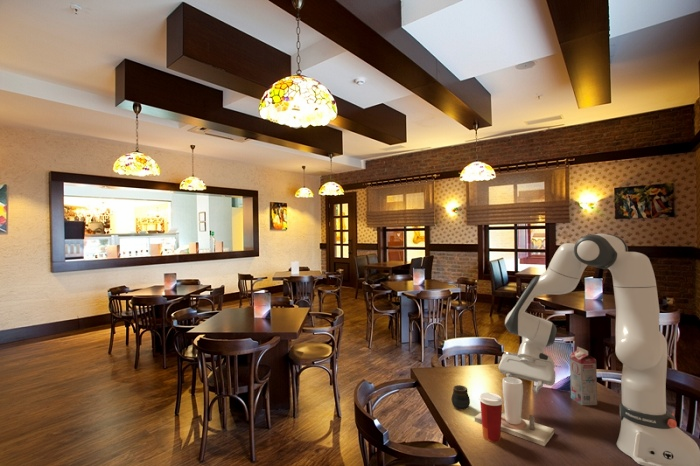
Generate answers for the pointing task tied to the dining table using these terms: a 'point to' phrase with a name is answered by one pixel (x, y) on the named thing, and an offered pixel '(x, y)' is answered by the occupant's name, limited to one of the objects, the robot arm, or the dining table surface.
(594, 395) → the juice carton
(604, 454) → the dining table surface
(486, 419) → the paper cup
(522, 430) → the pin board
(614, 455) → the dining table surface
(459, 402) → the mate gourd
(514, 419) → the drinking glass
